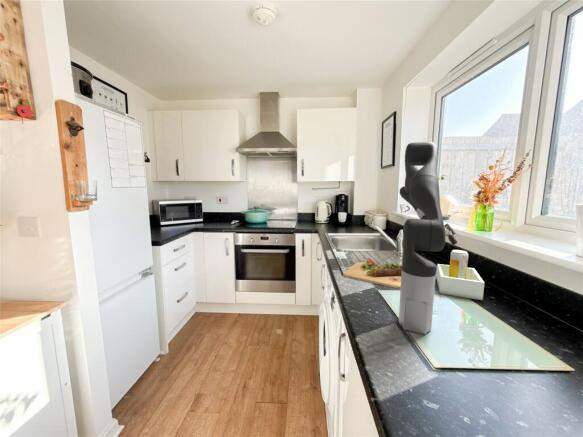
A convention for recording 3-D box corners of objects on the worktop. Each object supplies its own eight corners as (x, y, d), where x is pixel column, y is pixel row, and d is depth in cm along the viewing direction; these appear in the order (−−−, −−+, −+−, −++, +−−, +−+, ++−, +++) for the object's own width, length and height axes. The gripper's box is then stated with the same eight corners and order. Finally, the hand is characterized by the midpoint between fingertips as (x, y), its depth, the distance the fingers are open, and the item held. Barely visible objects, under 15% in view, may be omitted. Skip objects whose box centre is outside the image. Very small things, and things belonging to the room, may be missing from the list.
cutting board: (342, 277, 117) (342, 262, 116) (357, 264, 137) (358, 251, 136) (424, 295, 98) (425, 277, 97) (429, 277, 118) (430, 262, 117)
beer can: (458, 282, 107) (461, 249, 105) (468, 288, 101) (472, 253, 99) (444, 283, 106) (447, 249, 104) (454, 288, 100) (457, 253, 98)
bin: (482, 300, 93) (484, 282, 92) (439, 293, 99) (441, 276, 98) (472, 283, 108) (474, 268, 108) (436, 278, 115) (437, 263, 114)
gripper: (421, 211, 111) (441, 241, 102) (444, 210, 115) (466, 239, 106) (411, 221, 117) (429, 250, 108) (434, 219, 121) (453, 247, 112)
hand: (448, 244), depth 107 cm, fingers open, 8 cm apart
